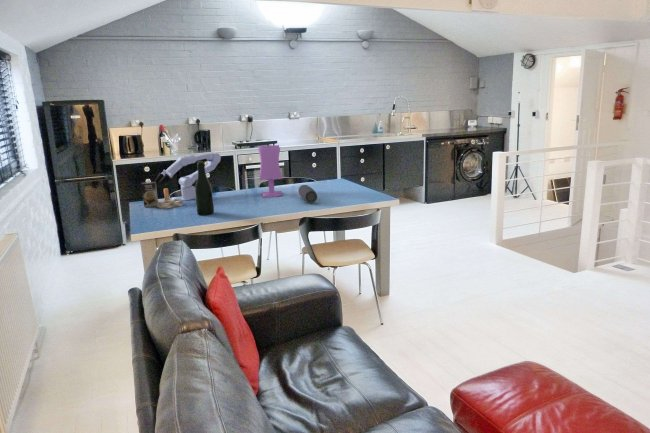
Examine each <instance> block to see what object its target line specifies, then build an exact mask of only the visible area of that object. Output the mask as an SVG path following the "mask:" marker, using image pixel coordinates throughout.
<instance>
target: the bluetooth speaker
mask: <svg viewBox="0 0 650 433" xmlns="http://www.w3.org/2000/svg"><path fill="white" fill-rule="evenodd" d="M298 195H299V196H300V197H301V198H302V199H303V200H304V201H305V202H306V203H308V204H313V203H315V202H316V201H317V200H318V194H317V192H316V190H315V189H314V188H312V187H311V186H309V185H307V184H301V185H300V186H299V187H298Z"/></svg>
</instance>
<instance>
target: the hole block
mask: <svg viewBox="0 0 650 433" xmlns="http://www.w3.org/2000/svg"><path fill="white" fill-rule="evenodd" d="M183 201H184V200H181V199H178V198H174V199H173V198H172V199H169V200H167V201H165V200H163V201H158V202H157V206H156V207H157V208H159V209H162V210H166V209H170V208H175V207H181V206H184V204H183V203H184V202H183Z"/></svg>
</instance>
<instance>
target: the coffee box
mask: <svg viewBox="0 0 650 433" xmlns="http://www.w3.org/2000/svg"><path fill="white" fill-rule="evenodd" d="M140 186H141V192H142V202H143V207H144V208H150V207H151V208H152V207H153V208H154V207H157V202H159V199H158V189H157V188H158V187H157V183H156V182H155V181H147V182H141V185H140Z"/></svg>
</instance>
